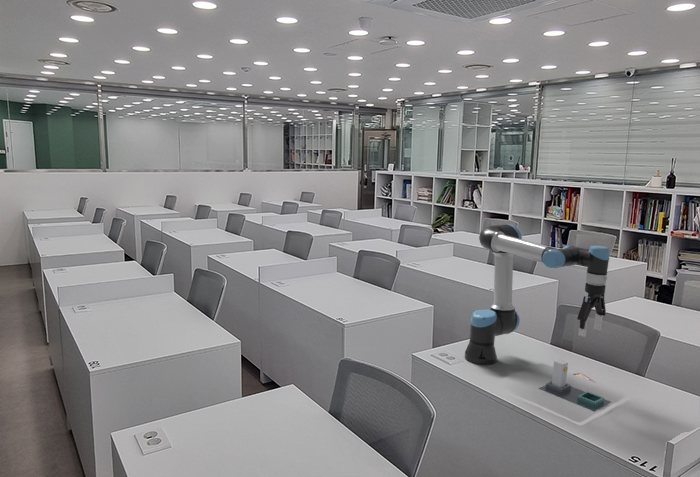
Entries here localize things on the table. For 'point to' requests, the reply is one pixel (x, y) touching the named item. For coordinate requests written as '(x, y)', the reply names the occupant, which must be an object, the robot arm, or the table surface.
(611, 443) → the table surface
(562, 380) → the plug
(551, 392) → the panel
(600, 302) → the robot arm
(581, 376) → the smartphone
